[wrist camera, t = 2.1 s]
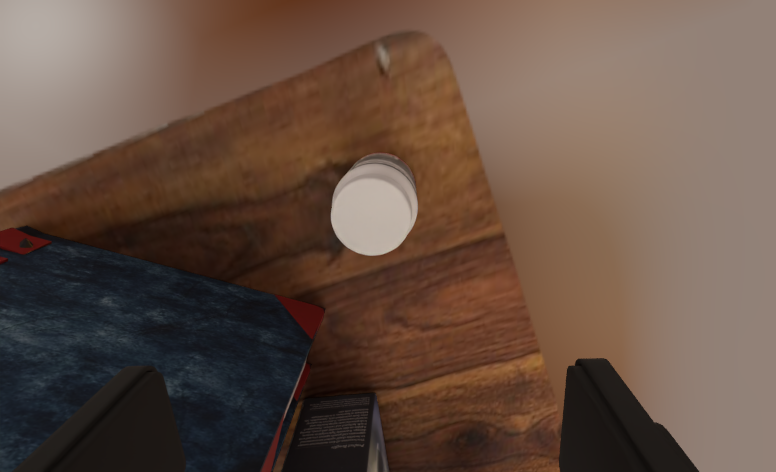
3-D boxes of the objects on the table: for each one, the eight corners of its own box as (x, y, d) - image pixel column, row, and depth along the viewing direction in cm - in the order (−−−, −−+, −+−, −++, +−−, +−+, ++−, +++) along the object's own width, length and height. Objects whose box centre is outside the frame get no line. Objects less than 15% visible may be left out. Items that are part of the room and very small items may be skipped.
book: (-5, 293, 32) (-1114, 814, 9) (-8, 210, 30) (-1491, 606, 7) (310, 375, 33) (72, 1041, 10) (329, 300, 31) (81, 925, 8)
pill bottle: (383, 233, 29) (373, 282, 21) (332, 188, 29) (303, 221, 21) (430, 185, 28) (439, 218, 20) (379, 136, 27) (367, 150, 19)
